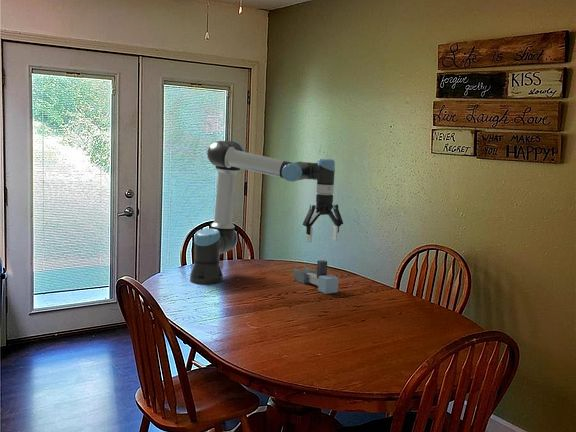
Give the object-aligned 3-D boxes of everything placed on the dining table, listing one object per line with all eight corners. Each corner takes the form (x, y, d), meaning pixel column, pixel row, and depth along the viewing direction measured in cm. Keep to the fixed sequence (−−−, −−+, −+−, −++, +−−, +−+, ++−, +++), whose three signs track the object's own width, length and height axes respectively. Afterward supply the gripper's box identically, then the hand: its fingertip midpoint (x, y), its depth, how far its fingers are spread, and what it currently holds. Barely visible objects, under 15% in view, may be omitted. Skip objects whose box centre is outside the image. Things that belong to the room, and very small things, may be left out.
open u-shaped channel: (294, 279, 283) (294, 268, 282) (305, 278, 286) (306, 267, 285) (303, 283, 275) (304, 272, 274) (315, 282, 278) (316, 271, 278)
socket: (318, 290, 265) (318, 276, 264) (330, 288, 268) (330, 274, 267) (325, 293, 260) (326, 279, 259) (337, 292, 263) (338, 277, 262)
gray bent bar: (305, 280, 277) (306, 256, 275) (311, 279, 279) (312, 255, 277) (324, 289, 263) (325, 264, 261) (331, 288, 265) (332, 263, 263)
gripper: (305, 195, 253) (303, 244, 256) (352, 194, 266) (349, 240, 269) (296, 193, 260) (294, 240, 263) (342, 192, 272) (340, 237, 275)
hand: (322, 240), depth 266 cm, fingers open, 13 cm apart
